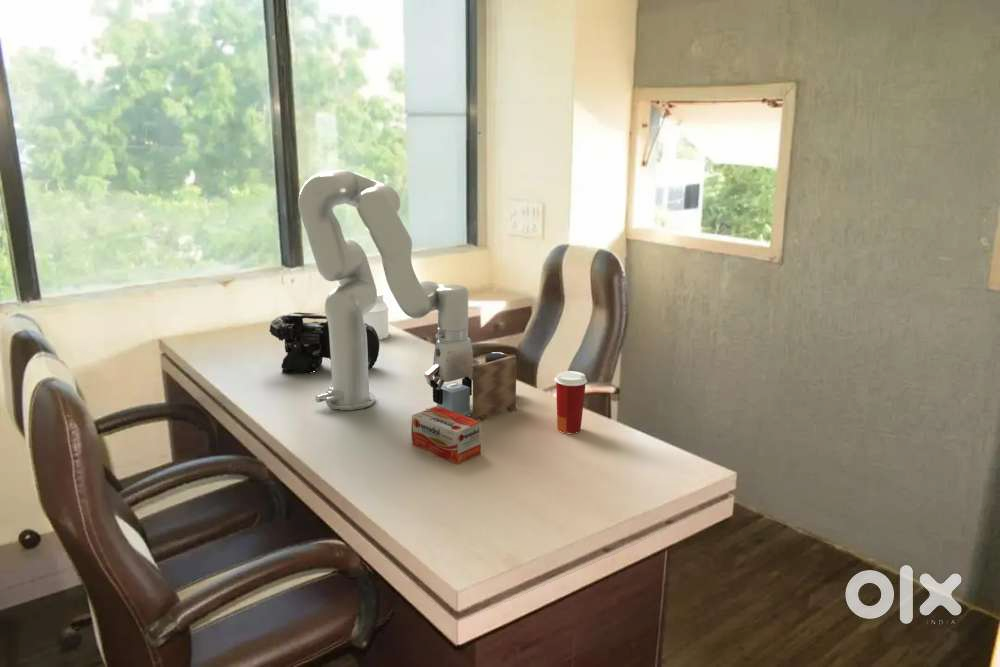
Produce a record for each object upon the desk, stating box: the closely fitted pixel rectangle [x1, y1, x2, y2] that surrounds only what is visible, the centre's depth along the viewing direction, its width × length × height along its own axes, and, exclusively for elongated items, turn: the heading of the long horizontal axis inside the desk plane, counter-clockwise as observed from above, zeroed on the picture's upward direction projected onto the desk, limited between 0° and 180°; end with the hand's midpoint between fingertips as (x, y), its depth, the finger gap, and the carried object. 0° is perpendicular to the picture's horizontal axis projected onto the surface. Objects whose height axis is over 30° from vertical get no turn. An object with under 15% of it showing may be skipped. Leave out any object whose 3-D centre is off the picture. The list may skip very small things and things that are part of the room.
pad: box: [425, 404, 473, 417], centre depth 198 cm, size 10×10×1 cm
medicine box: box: [411, 405, 482, 465], centre depth 174 cm, size 15×8×8 cm, turn 48°
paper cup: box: [554, 370, 588, 434], centre depth 185 cm, size 8×8×14 cm
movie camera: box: [268, 312, 380, 374], centre depth 226 cm, size 31×18×18 cm, turn 93°
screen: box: [471, 354, 518, 422], centre depth 195 cm, size 14×4×14 cm, turn 134°
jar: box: [363, 291, 390, 339], centre depth 263 cm, size 12×10×15 cm
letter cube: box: [436, 381, 471, 413], centre depth 197 cm, size 6×6×6 cm
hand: (452, 398), depth 197 cm, fingers open, 9 cm apart
